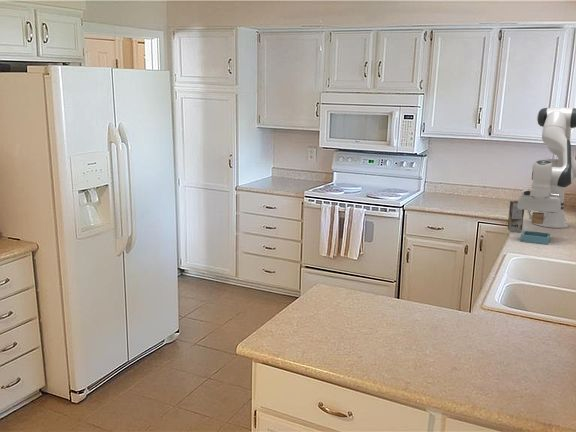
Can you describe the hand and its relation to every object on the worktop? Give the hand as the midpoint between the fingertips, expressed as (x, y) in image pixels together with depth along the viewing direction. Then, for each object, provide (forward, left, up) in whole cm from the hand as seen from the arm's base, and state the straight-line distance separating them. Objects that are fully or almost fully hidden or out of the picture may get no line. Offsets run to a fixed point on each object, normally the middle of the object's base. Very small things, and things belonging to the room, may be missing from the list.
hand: (537, 219), depth 290 cm
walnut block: (0, 0, -2) cm, 2 cm away
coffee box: (-22, -13, -11) cm, 28 cm away
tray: (0, 0, -11) cm, 11 cm away
